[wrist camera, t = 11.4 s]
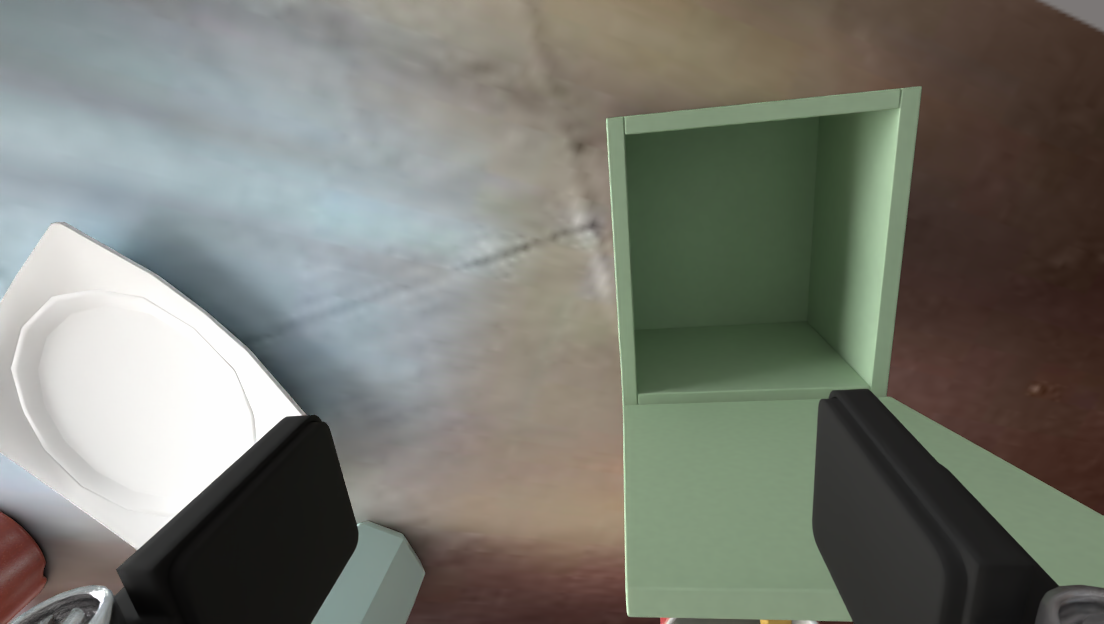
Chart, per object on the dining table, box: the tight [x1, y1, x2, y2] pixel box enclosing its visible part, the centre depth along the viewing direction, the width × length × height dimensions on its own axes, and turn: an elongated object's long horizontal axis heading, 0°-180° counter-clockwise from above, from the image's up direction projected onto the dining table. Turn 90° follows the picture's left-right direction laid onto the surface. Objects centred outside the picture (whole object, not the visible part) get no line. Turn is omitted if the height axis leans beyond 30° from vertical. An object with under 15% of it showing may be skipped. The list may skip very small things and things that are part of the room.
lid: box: [623, 397, 1104, 624], centre depth 20 cm, size 15×13×5 cm
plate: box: [0, 222, 306, 550], centre depth 44 cm, size 24×24×3 cm
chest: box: [606, 86, 922, 405], centre depth 30 cm, size 15×13×10 cm
